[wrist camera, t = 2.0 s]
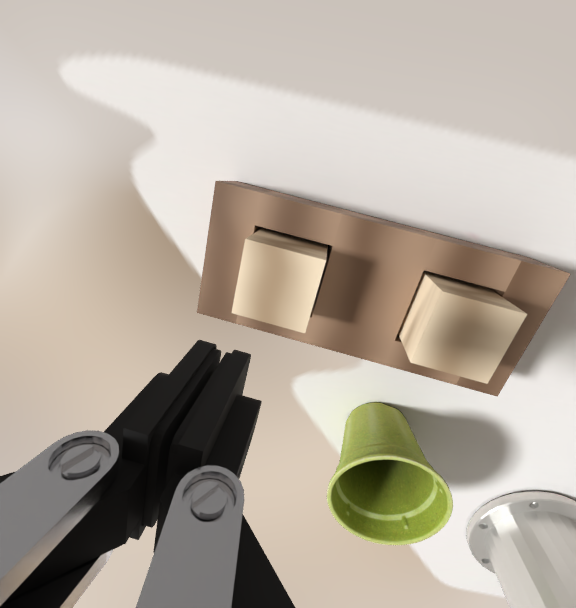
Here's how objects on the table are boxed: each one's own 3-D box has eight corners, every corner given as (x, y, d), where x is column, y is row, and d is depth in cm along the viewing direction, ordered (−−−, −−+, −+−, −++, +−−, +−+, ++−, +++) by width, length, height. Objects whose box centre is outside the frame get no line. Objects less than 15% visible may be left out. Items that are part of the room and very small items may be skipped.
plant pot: (352, 470, 36) (357, 555, 27) (313, 405, 33) (306, 476, 25) (437, 446, 33) (470, 532, 25) (401, 373, 31) (425, 442, 23)
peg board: (527, 257, 25) (570, 273, 21) (471, 362, 29) (497, 396, 25) (236, 181, 26) (215, 180, 22) (218, 292, 30) (196, 312, 25)
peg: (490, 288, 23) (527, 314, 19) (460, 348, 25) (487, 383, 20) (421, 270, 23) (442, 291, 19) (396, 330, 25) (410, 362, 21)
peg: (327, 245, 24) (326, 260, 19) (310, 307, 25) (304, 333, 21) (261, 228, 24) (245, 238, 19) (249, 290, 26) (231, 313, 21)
